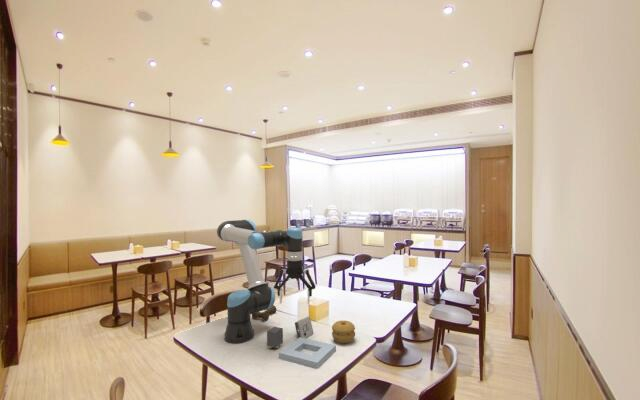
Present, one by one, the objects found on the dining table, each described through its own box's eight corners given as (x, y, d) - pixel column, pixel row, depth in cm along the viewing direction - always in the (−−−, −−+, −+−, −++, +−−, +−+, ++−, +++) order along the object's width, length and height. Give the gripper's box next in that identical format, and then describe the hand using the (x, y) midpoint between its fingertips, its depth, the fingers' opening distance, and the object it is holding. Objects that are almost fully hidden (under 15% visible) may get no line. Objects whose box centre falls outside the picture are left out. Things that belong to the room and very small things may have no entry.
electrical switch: (302, 340, 156) (300, 321, 157) (294, 338, 160) (293, 320, 160) (314, 334, 164) (312, 316, 164) (306, 332, 167) (305, 315, 168)
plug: (267, 348, 148) (266, 330, 148) (274, 343, 153) (274, 326, 153) (275, 350, 146) (275, 332, 146) (282, 345, 151) (282, 328, 151)
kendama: (280, 314, 196) (260, 324, 178) (267, 312, 200) (247, 322, 183) (279, 304, 196) (259, 314, 179) (267, 303, 201) (247, 312, 183)
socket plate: (278, 358, 139) (278, 352, 139) (300, 342, 154) (300, 337, 154) (317, 368, 129) (317, 362, 129) (336, 350, 145) (335, 345, 145)
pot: (339, 348, 147) (338, 327, 147) (328, 338, 158) (327, 319, 158) (359, 343, 152) (359, 322, 152) (347, 334, 163) (347, 315, 163)
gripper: (267, 260, 147) (267, 305, 147) (319, 261, 146) (319, 305, 146) (271, 257, 155) (271, 299, 155) (320, 258, 154) (320, 300, 154)
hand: (294, 302), depth 151 cm, fingers open, 13 cm apart
